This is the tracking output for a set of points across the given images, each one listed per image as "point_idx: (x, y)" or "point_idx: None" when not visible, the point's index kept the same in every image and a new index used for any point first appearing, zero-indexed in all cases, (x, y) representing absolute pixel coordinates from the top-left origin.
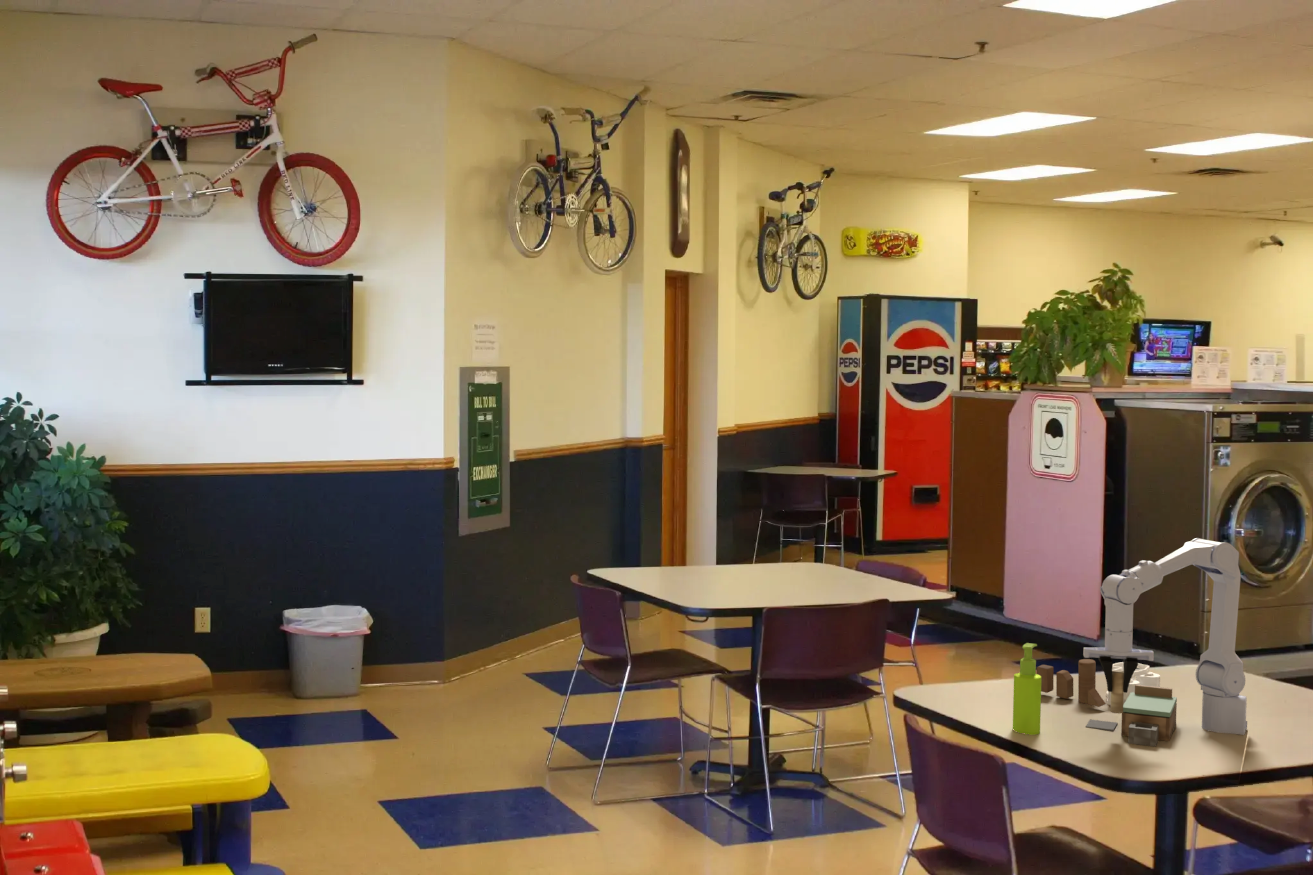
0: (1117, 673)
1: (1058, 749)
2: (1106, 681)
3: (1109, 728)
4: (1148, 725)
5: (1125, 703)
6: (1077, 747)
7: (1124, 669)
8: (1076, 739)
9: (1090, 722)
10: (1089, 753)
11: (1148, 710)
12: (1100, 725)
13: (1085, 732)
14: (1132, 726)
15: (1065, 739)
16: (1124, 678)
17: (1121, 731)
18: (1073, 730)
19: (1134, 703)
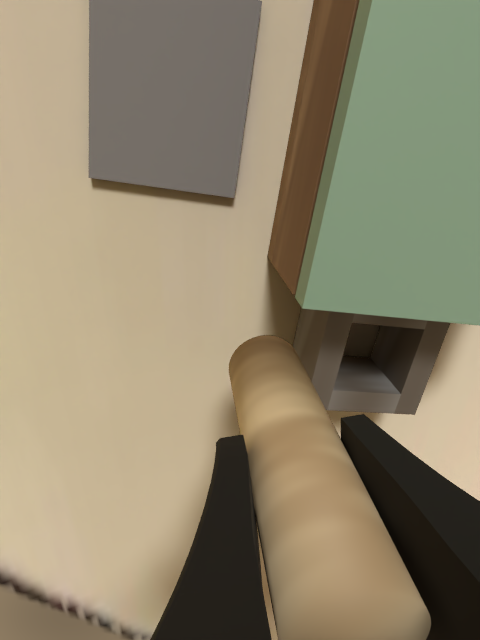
0: None
1: (46, 531)
2: (210, 489)
3: (214, 177)
4: (403, 325)
5: (338, 186)
6: (104, 488)
7: (457, 630)
8: (83, 394)
9: (102, 62)
10: (153, 531)
11: (449, 321)
12: (165, 124)
13: (103, 266)
14: (323, 390)
15: (39, 411)
16: (397, 542)
17: (271, 261)
18: (39, 249)
19: (404, 159)
